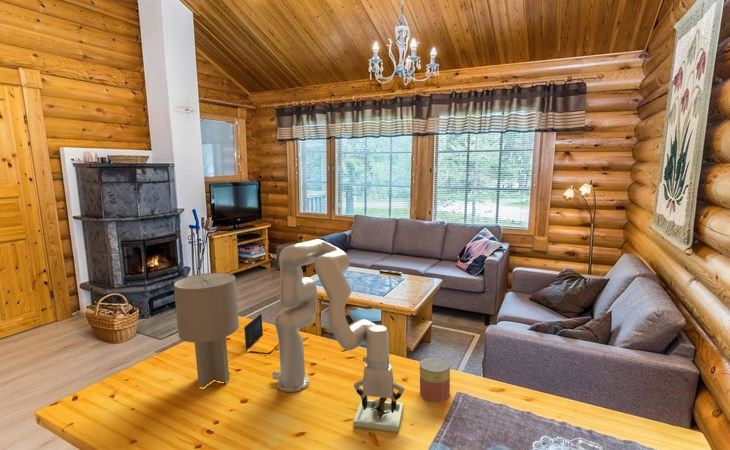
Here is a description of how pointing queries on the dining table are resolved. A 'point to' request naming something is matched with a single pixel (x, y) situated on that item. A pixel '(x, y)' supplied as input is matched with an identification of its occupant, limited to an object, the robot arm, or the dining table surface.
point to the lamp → (207, 321)
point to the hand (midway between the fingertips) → (379, 408)
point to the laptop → (253, 331)
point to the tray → (371, 421)
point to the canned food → (435, 379)
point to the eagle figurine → (379, 407)
